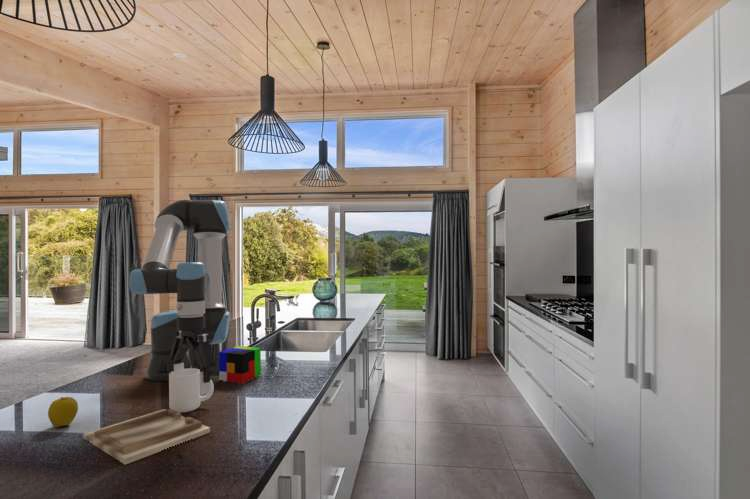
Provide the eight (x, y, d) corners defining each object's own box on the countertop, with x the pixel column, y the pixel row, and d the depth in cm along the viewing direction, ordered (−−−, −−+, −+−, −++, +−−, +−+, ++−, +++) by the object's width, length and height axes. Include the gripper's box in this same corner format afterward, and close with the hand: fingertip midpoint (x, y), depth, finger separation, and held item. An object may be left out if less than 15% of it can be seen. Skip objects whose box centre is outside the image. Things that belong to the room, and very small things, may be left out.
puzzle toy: (219, 380, 152) (219, 352, 152) (238, 373, 162) (238, 345, 162) (242, 383, 149) (242, 354, 149) (260, 375, 158) (260, 348, 158)
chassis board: (83, 438, 106) (83, 428, 106) (164, 413, 122) (164, 404, 122) (125, 464, 93) (125, 453, 93) (210, 432, 109) (209, 422, 109)
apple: (55, 433, 110) (54, 401, 110) (43, 427, 113) (43, 396, 113) (83, 424, 115) (82, 393, 115) (71, 419, 118) (71, 389, 118)
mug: (216, 401, 132) (215, 366, 132) (211, 411, 124) (210, 374, 124) (173, 404, 130) (173, 369, 129) (165, 414, 121) (165, 377, 121)
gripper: (156, 314, 131) (156, 385, 131) (203, 320, 116) (204, 401, 116) (180, 311, 137) (180, 379, 137) (228, 317, 122) (228, 393, 122)
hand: (191, 389), depth 126 cm, fingers open, 13 cm apart
